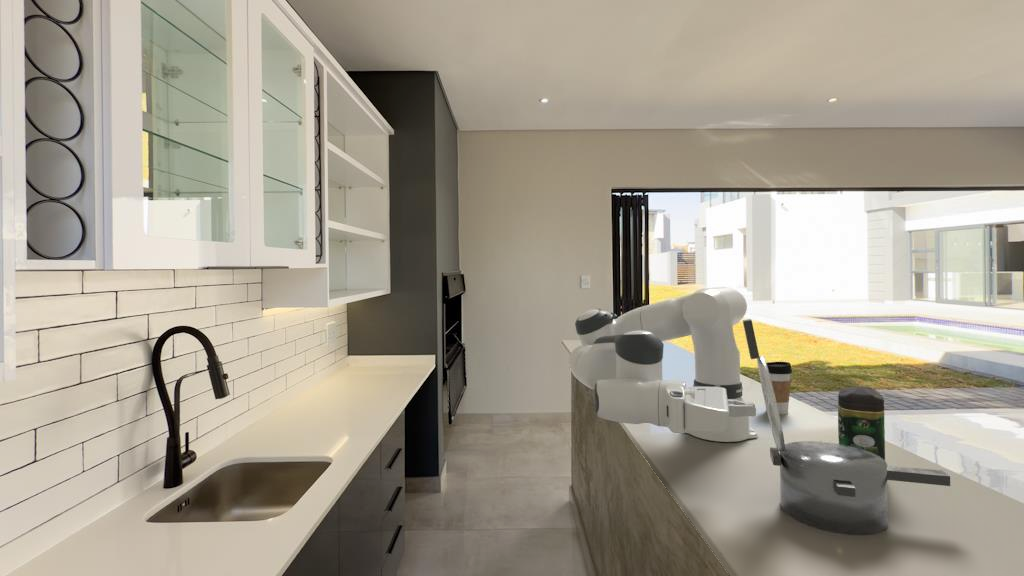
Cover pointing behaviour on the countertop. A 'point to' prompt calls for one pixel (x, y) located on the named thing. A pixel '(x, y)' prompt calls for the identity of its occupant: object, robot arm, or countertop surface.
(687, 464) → the countertop surface
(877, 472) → the pot
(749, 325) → the lid
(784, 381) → the coffee cup
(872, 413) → the coffee jar
